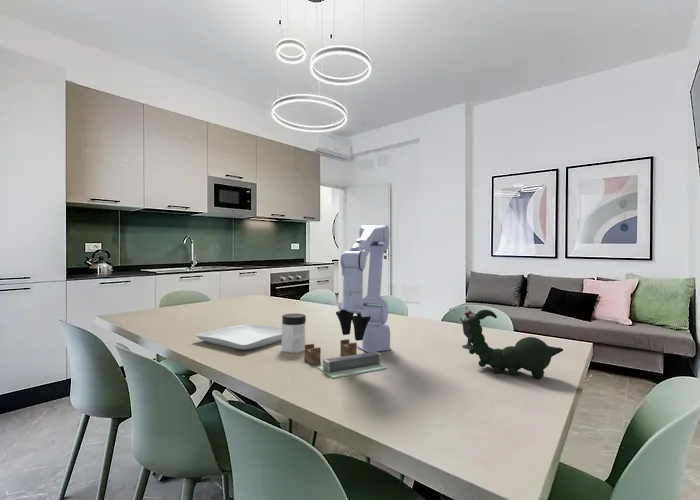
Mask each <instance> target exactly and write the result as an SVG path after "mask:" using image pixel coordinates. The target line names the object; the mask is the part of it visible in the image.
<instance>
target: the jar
mask: <svg viewBox="0 0 700 500" xmlns="http://www.w3.org/2000/svg"><path fill="white" fill-rule="evenodd" d="M281 318H282V319H281V320H282V321H281V322H282V323H281V328H282V340H281V352H284V353H291V354H297V353H301V352H305V344H306V330H307V329H306V324H307V322H306V321H307V318H306V314H303V313H285V314H283V315H282V316H281Z"/></svg>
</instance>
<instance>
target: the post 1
mask: <svg viewBox="0 0 700 500" xmlns="http://www.w3.org/2000/svg"><path fill="white" fill-rule="evenodd" d="M321 353H322V352H321V346H317V347H315V343H305V351H304V354H303V355H304V359H303V360H305V361H306V362H307V363H309V364H310V365H314V364H321V356H322V355H321Z"/></svg>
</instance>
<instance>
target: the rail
mask: <svg viewBox="0 0 700 500" xmlns="http://www.w3.org/2000/svg"><path fill="white" fill-rule="evenodd" d="M381 360H382V353H379V352H370V353H369V352H365V353H364V352H363V353H357V355H350V356H343V355H342V356H338V357H331V358H326V359H325V358H324V359H322V366H323V370H324V371H325V372H327V373H331V372H337V371H343V370H349V369H354V368H360V367H366V366H372V365H378V364H381V362H382V361H381ZM381 365H382V364H381Z"/></svg>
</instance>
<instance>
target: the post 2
mask: <svg viewBox="0 0 700 500" xmlns="http://www.w3.org/2000/svg"><path fill="white" fill-rule="evenodd" d="M339 349H340V353H339V354H340V355H342V357H343V356H350V355H357V354H358V353H357V352H358V351H357V349H358V343H357V341H356V342H355V341H354V342H350V339H349V338H346V339H340V348H339Z"/></svg>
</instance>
